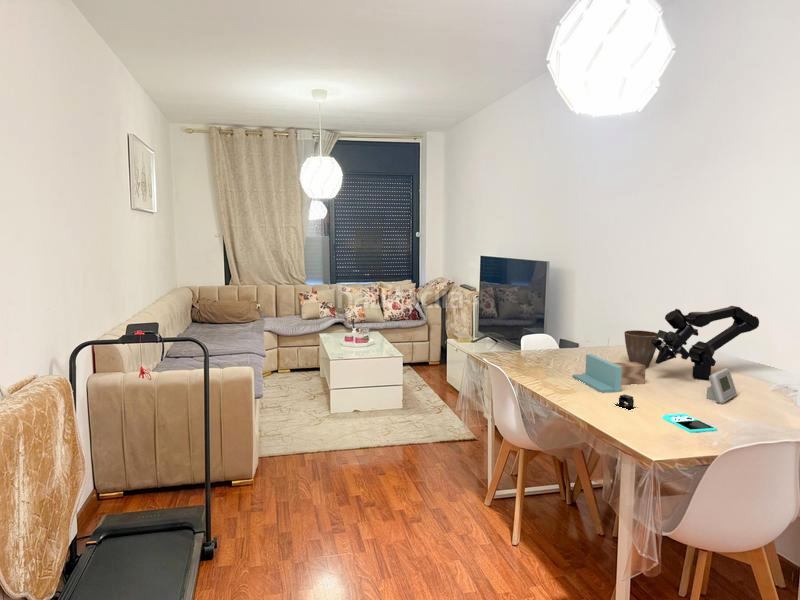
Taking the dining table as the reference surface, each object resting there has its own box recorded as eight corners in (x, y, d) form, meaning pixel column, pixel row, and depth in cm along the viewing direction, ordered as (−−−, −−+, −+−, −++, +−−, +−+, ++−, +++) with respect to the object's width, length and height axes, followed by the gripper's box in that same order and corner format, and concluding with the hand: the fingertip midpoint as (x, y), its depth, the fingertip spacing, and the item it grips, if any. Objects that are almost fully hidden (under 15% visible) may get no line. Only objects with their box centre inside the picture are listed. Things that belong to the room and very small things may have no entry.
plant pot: (648, 362, 274) (650, 330, 272) (663, 370, 259) (665, 336, 257) (617, 363, 274) (619, 330, 272) (631, 371, 259) (632, 336, 257)
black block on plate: (605, 405, 211) (605, 393, 211) (618, 402, 215) (618, 390, 214) (634, 414, 201) (635, 402, 200) (647, 411, 205) (648, 398, 204)
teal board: (590, 376, 250) (591, 354, 249) (620, 391, 227) (621, 367, 225) (572, 377, 249) (573, 354, 247) (601, 392, 225) (602, 368, 224)
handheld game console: (685, 416, 199) (685, 412, 198) (718, 432, 183) (718, 428, 183) (659, 418, 197) (659, 414, 197) (690, 434, 181) (690, 430, 181)
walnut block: (635, 380, 245) (635, 361, 244) (644, 384, 238) (645, 365, 237) (600, 381, 242) (601, 363, 241) (609, 386, 235) (610, 367, 234)
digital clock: (720, 405, 209) (722, 377, 208) (697, 399, 217) (698, 371, 215) (745, 398, 217) (747, 371, 216) (721, 392, 225) (723, 366, 224)
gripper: (655, 320, 249) (631, 346, 249) (684, 327, 231) (658, 355, 231) (671, 336, 252) (647, 362, 251) (700, 345, 233) (675, 373, 233)
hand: (656, 363), depth 241 cm, fingers closed
